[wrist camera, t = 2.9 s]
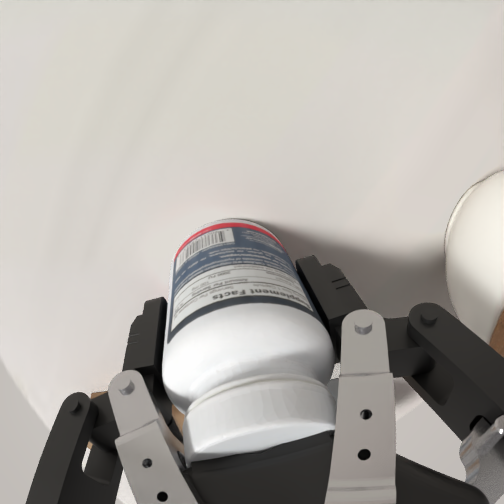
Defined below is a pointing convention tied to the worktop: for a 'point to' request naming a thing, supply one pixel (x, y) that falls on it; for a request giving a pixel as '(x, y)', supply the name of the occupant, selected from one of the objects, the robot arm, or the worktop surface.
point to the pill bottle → (243, 345)
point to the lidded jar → (478, 260)
